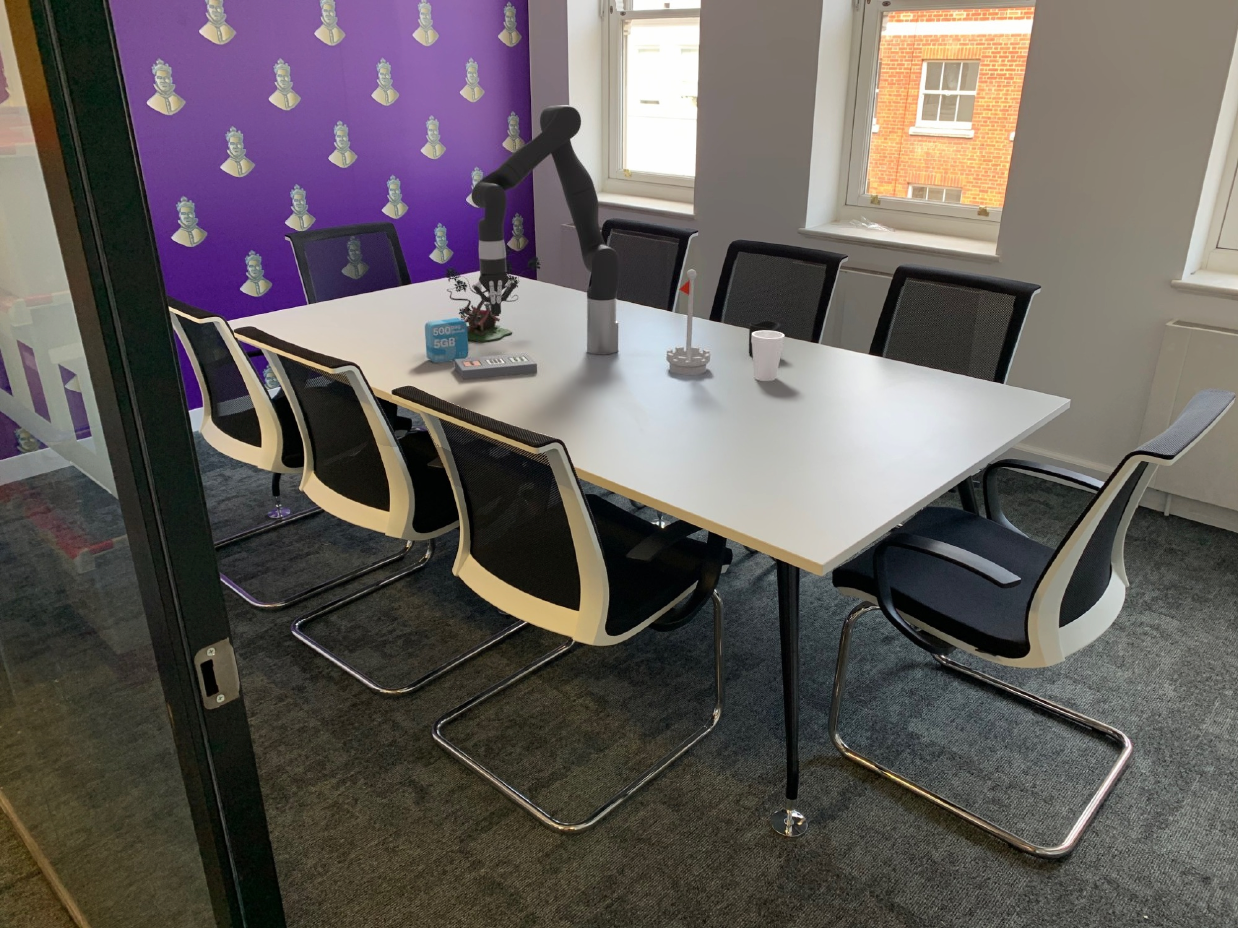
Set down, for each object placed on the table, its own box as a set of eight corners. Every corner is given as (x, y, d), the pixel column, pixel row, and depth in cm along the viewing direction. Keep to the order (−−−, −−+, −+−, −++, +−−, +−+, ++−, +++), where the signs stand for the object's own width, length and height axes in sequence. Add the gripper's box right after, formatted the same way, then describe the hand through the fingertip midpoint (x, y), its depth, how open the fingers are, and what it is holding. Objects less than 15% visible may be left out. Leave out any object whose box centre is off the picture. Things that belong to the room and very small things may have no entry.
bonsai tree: (484, 353, 298) (479, 251, 286) (432, 339, 312) (426, 242, 300) (559, 332, 323) (557, 238, 311) (508, 320, 337) (505, 230, 325)
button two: (524, 366, 285) (523, 356, 284) (528, 370, 281) (527, 360, 280) (509, 367, 283) (508, 357, 282) (513, 372, 279) (512, 361, 278)
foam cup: (760, 384, 271) (764, 340, 266) (742, 375, 279) (745, 332, 274) (787, 380, 275) (791, 336, 270) (768, 371, 283) (772, 329, 278)
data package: (432, 364, 286) (429, 325, 282) (426, 360, 290) (424, 322, 285) (468, 358, 292) (466, 320, 288) (462, 355, 296) (460, 317, 291)
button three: (501, 368, 283) (501, 358, 281) (505, 372, 279) (504, 362, 277) (486, 369, 281) (485, 359, 280) (489, 374, 277) (489, 363, 276)
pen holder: (776, 360, 294) (779, 328, 290) (746, 358, 296) (748, 326, 292) (778, 352, 303) (780, 321, 299) (748, 350, 304) (750, 319, 301)
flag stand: (686, 360, 292) (689, 263, 281) (718, 369, 284) (723, 269, 272) (657, 369, 284) (659, 269, 272) (689, 378, 275) (693, 275, 264)
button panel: (526, 362, 289) (526, 353, 288) (537, 373, 278) (536, 363, 277) (454, 369, 282) (454, 359, 280) (463, 380, 271) (462, 370, 270)
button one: (478, 370, 280) (477, 360, 279) (481, 374, 276) (481, 364, 275) (463, 372, 279) (462, 361, 278) (466, 376, 275) (465, 365, 274)
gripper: (511, 252, 274) (514, 310, 281) (466, 255, 270) (470, 315, 276) (518, 256, 267) (521, 316, 274) (472, 260, 263) (476, 321, 270)
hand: (495, 315), depth 275 cm, fingers closed
